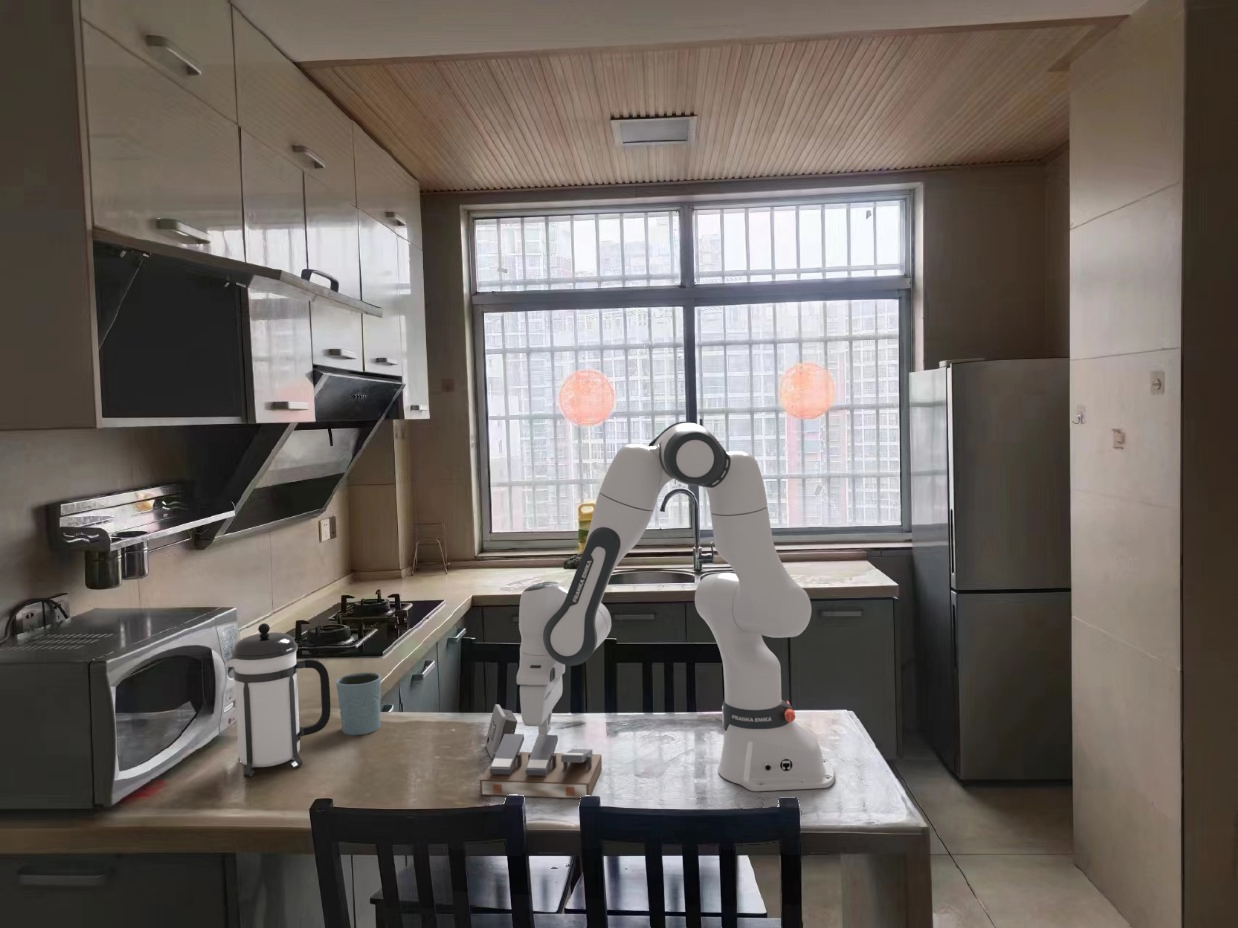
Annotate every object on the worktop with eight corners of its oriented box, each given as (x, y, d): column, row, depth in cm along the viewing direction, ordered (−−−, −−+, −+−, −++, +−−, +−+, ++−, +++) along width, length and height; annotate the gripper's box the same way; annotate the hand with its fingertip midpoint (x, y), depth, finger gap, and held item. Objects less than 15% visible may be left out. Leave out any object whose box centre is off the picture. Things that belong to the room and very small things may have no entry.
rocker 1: (524, 739, 174) (523, 733, 174) (510, 774, 164) (509, 768, 164) (505, 738, 175) (504, 733, 175) (490, 773, 165) (489, 767, 164)
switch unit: (601, 768, 174) (601, 742, 174) (588, 800, 160) (588, 771, 159) (501, 765, 177) (500, 739, 177) (479, 796, 163) (478, 767, 162)
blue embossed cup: (366, 738, 195) (363, 686, 195) (328, 734, 198) (326, 682, 198) (391, 723, 205) (389, 673, 204) (355, 719, 208) (353, 670, 207)
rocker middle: (558, 740, 173) (557, 734, 173) (546, 775, 163) (545, 769, 163) (538, 739, 174) (538, 734, 174) (525, 774, 164) (525, 768, 163)
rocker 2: (592, 755, 172) (592, 748, 172) (581, 762, 161) (582, 755, 162) (572, 755, 173) (572, 748, 173) (561, 761, 162) (561, 754, 162)
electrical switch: (484, 745, 189) (487, 703, 189) (508, 744, 190) (510, 703, 190) (491, 761, 180) (494, 717, 180) (515, 760, 181) (518, 716, 181)
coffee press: (277, 783, 171) (270, 634, 170) (215, 774, 177) (207, 629, 175) (334, 751, 187) (328, 615, 186) (275, 744, 193) (269, 611, 192)
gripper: (539, 650, 181) (541, 715, 182) (513, 678, 161) (516, 751, 161) (568, 650, 180) (570, 715, 181) (546, 679, 160) (548, 752, 161)
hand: (544, 732), depth 171 cm, fingers closed
